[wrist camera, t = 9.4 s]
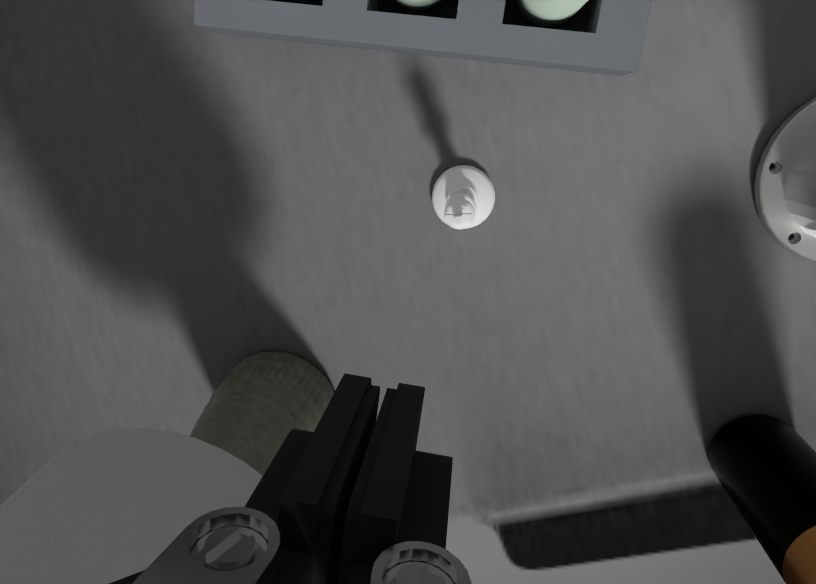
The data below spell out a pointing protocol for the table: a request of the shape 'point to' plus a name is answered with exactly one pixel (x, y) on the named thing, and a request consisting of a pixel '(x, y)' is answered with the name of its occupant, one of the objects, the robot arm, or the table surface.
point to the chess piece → (463, 196)
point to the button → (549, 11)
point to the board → (443, 31)
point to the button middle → (418, 4)
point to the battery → (771, 489)
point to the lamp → (155, 478)
